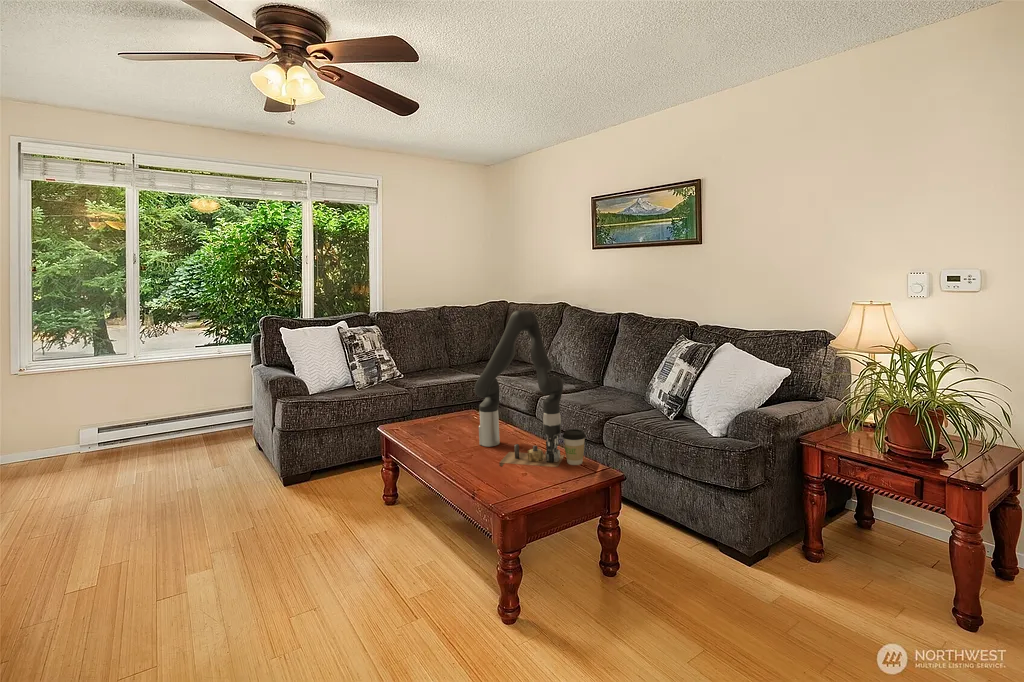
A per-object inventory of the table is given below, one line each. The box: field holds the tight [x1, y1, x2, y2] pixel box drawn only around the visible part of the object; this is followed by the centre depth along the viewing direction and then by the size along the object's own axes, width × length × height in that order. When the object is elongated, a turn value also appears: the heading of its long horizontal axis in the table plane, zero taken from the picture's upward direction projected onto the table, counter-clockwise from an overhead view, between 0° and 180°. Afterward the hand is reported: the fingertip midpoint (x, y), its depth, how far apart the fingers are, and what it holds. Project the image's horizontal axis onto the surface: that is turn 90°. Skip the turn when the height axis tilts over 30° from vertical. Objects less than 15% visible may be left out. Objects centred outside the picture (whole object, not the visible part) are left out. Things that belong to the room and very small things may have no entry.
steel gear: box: [544, 448, 561, 462], centre depth 230 cm, size 6×6×4 cm
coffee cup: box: [562, 428, 587, 466], centre depth 227 cm, size 10×10×15 cm
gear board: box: [499, 443, 565, 468], centre depth 233 cm, size 26×14×8 cm, turn 72°
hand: (552, 459), depth 231 cm, fingers closed on steel gear, 5 cm apart
